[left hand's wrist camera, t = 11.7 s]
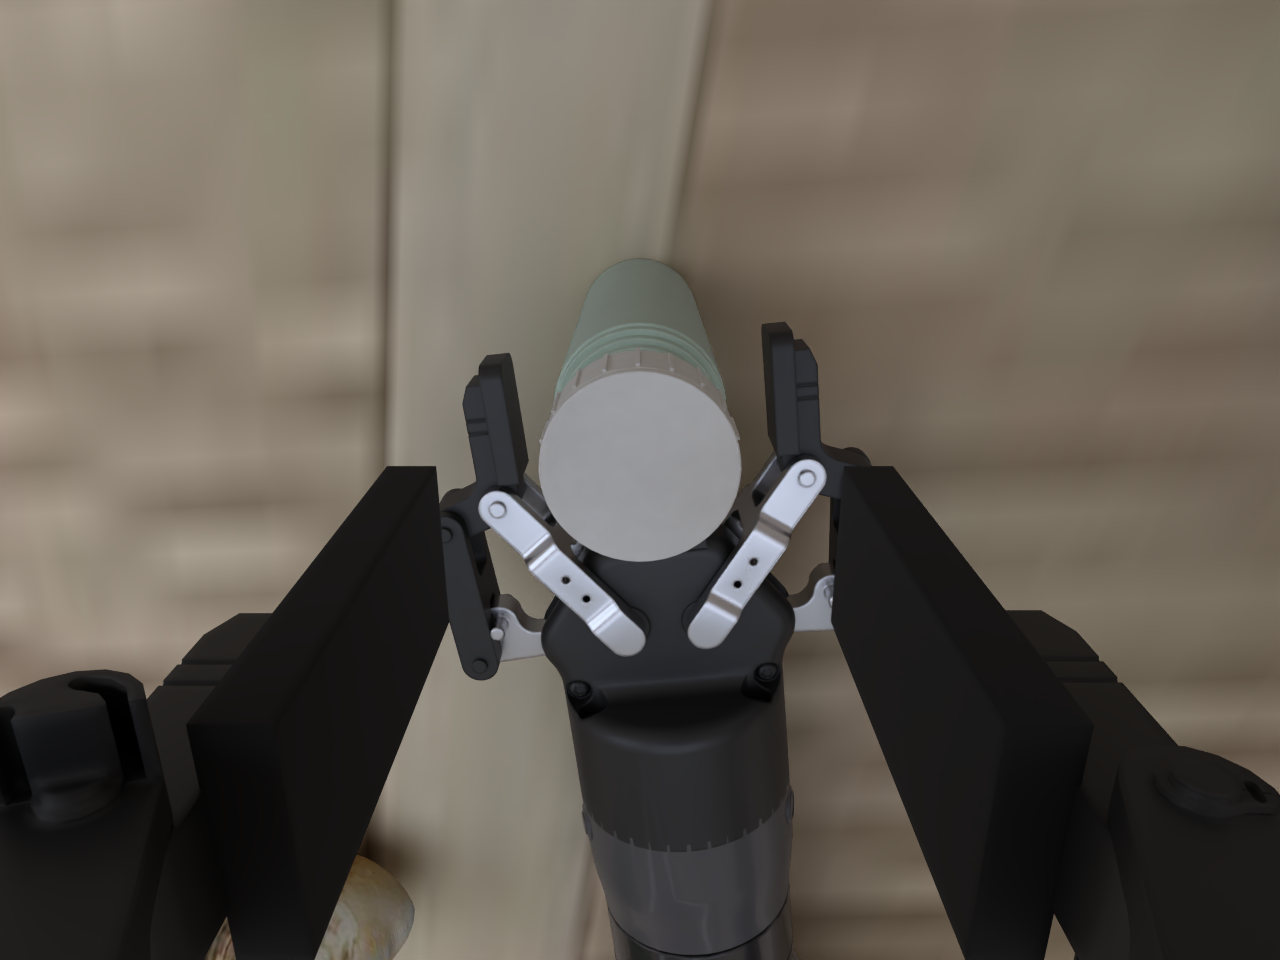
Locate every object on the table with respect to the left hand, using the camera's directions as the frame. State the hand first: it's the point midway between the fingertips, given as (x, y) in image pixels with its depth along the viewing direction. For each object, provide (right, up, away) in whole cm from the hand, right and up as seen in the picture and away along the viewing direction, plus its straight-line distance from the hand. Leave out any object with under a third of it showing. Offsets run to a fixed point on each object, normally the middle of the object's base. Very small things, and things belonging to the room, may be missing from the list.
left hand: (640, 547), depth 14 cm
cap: (0, +1, +4) cm, 4 cm away
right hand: (0, +5, +13) cm, 14 cm away
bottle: (0, +7, +19) cm, 20 cm away
